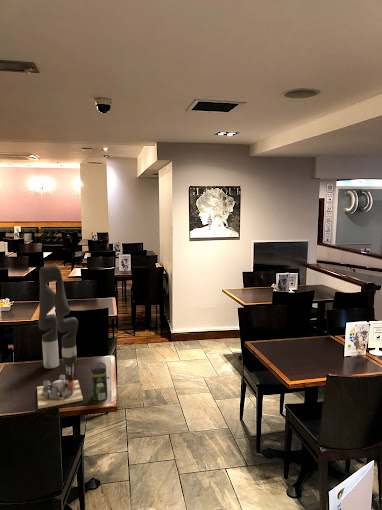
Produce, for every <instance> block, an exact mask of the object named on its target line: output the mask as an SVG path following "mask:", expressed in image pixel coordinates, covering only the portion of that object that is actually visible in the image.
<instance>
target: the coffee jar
mask: <svg viewBox="0 0 382 510" xmlns="http://www.w3.org/2000/svg"><path fill="white" fill-rule="evenodd" d="M90 373H91V375H90V377H91V391H92V393H91V394H92V400H94V401H97V402H100V401H101V402H102V401H104V400H106V399H108V380H107V379H108V377H107V375H108V374H107V365H106V363H105V362H103V361H96V362H94V363H93V364H91V368H90Z"/></svg>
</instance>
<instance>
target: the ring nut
mask: <svg viewBox="0 0 382 510" xmlns="http://www.w3.org/2000/svg"><path fill="white" fill-rule="evenodd" d="M58 380H63V381H64V382H65V387H66V388H67V389H66V390H63V391H61V392H58V386H53V382H54V381H52V382H51V380H44V381H43V383H42V386H43V390H42V393H43V396H44V397H46V398H47V399H60V398H61V397H64V398H65V397H67V396H70V395H71V394H73V392H74V391H75V384H74V381H75V380H74V379H73V380H66V375H65V374H60V375H59V377H58ZM51 390H52V391H51Z"/></svg>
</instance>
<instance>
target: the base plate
mask: <svg viewBox="0 0 382 510" xmlns="http://www.w3.org/2000/svg"><path fill="white" fill-rule="evenodd" d="M52 382H53V386H58V392H61V391H63V390H66V389H67V388H66V387H65V382H64V381H63V380H59V379H58V380H54V381H52ZM74 384H75V391H74V392H73V394H71V395H70V396H67V397H65V398H64V397H61V398H60V399H47V398H46V397H44V396H43V393H42V390H43V385H40V386H36V390H37V391H36V392H37V409H38V410H39V409H43V408H50V407H54V406H61V405H65V404H71V403H75V402H76V403H77V402H82V401H83V399H84V398H83V394H82V390H81V388H80V387H81V386H80V382H79V380H78V379H76V380H74ZM51 391H52V390H51Z"/></svg>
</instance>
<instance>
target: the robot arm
mask: <svg viewBox="0 0 382 510" xmlns="http://www.w3.org/2000/svg"><path fill="white" fill-rule="evenodd" d="M38 273H39V274H38V275H39V277H38V278H39V301H38V302H39V312H38V321H37V322H38V323H37V325H38V328H39V331H40V330H41V331H48V332H46V333H45V334H43V335H42V336H41V342H42V343H41V344H42V345H41V346H42V360H43V368H45V369H54V368H57V367H59V366H60V356H59V342H58V331H59V332H60V333H61V334H63V333H65V334H64V335H62V337H61V346H62V347H61V361H62V364H64V365H66V366H65V370H66V375H67V379H68V380H74V372H75V371H74V370H75V369H74V368H75V364H76V363H77V361H78V355H77V345H76V338H77V333H78V327H79V321H78V318H76V317H74V316H71V317H66V316H67V315H70V313H71V308H70V305H69V303H68V300H67V296H66V291H65V290H66V289H65V285H64V280H63V274H62V271H61V268H60V266H59V265H58V264H52V265H51V264H50V265H46V266H41V267H40V268H39V272H38ZM53 282H56V283H57V285H56V289H55V290H56V291H54V290H53V289H52V288H51V287H50V286H49V285H48V283H49V284H50V283H53ZM54 308H55V312H56V313H51V314H49V313H50V312H51V311H53V309H54ZM64 317H66V318H64Z"/></svg>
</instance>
